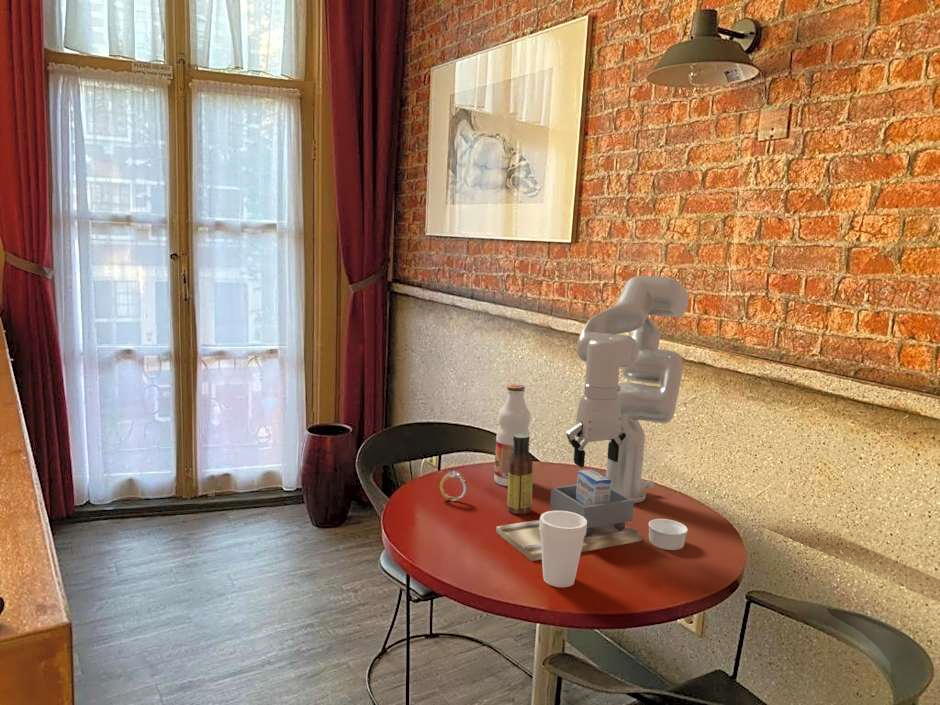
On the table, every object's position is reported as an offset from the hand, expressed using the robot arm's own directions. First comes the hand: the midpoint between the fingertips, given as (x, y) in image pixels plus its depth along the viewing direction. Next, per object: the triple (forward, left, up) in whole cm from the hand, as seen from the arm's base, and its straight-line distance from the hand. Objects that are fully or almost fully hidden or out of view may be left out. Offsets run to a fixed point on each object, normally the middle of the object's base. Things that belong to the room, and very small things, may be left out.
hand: (596, 462), depth 167 cm
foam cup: (+21, +18, -18) cm, 33 cm away
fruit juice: (+1, -38, -17) cm, 41 cm away
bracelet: (+23, -30, -18) cm, 41 cm away
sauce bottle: (+10, -18, -17) cm, 27 cm away
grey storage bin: (+1, 0, -15) cm, 15 cm away
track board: (+7, 0, -17) cm, 18 cm away
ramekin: (-13, +12, -18) cm, 25 cm away
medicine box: (+1, 0, -12) cm, 12 cm away
